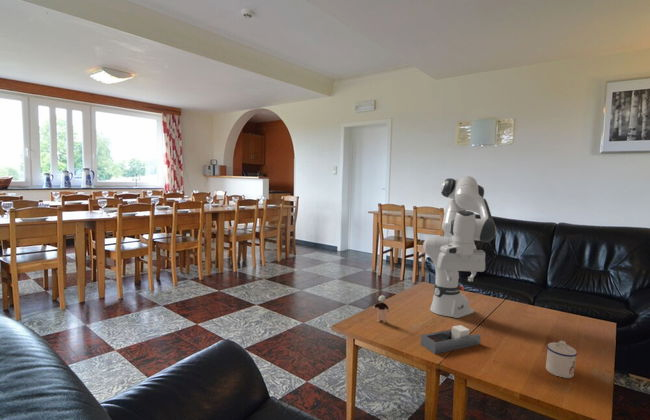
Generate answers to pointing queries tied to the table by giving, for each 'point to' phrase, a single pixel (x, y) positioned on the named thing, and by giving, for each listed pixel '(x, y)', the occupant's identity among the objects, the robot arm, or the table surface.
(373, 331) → the table surface
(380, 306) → the grandmother figurine
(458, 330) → the block
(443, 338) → the chute
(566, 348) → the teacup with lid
